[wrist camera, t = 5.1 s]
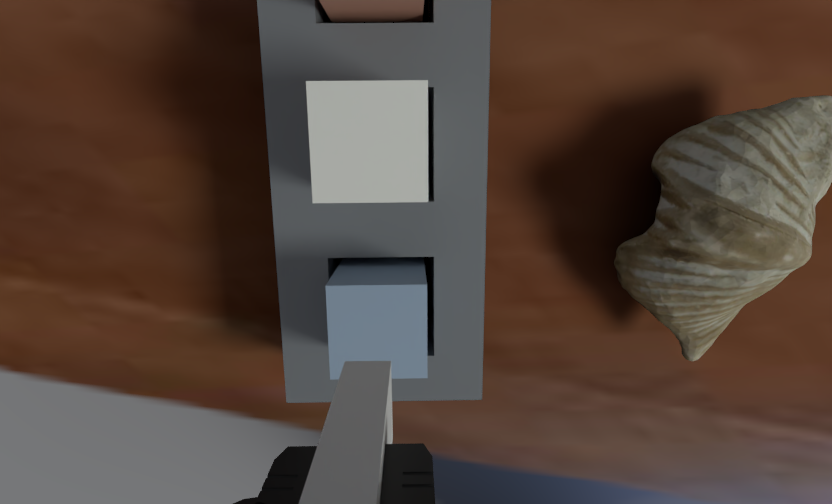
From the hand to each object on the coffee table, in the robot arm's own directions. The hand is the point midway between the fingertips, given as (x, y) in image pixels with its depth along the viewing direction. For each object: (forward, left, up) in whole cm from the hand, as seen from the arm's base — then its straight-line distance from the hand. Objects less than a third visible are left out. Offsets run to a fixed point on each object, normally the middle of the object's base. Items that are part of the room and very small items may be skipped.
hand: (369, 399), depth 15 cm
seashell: (-3, +19, -16) cm, 25 cm away
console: (-8, 0, -16) cm, 18 cm away
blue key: (0, 0, -13) cm, 13 cm away
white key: (-8, 0, -12) cm, 14 cm away
